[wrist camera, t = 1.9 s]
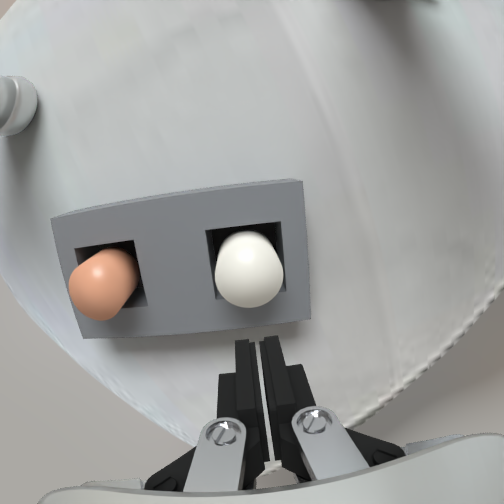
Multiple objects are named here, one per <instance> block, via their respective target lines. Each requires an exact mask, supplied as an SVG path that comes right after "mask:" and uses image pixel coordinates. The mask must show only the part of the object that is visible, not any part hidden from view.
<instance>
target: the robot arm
mask: <svg viewBox="0 0 504 504" xmlns="http://www.w3.org/2000/svg"><path fill="white" fill-rule="evenodd" d="M259 344H260V352H261V361H262V369H263V378H264V386H265V395H266V402H267V409H268V415H269V422H270V429H271V436H272V442H273V449H274V456H275V461H276V460H281V463H282V467H283V468H285V469H287V470H289V471H291V472H293V473H294V478H295V480H296V483H297V484H293V485H287V486H280V487H272V488H263V489H256V477H257V476H259V475H260V474H261V473H262V472H263V471H264V470H265V465H264V462H268V461H270V457H269V450H268V442H267V435H266V427H265V420H264V412H263V404H262V396H261V389H260V381H259V373H258V365H257V357H256V349H255V342H251V343H249V339H246V340H237V341H235V358H236V373H226V374H219V382H218V403H217V419H214V420H212V421H210V422H209V423H207V424H206V425H205V426H204V427H203V429H202V431H201V433H200V437H199V440H198V443H197V446H196V447H194V448H193V449H191V450H190V451H189V452H187V453H186V454H184V455H183V456H181V457H180V458H178V459H177V460H175V461H174V462H172V463H171V464H169V465H168V466H166V467H164V468H163V469H161V470H160V471H158V472H157V473H155V474H154V475H152V476H151V477H150V478H149V479H148V480H144V481H142V480H141V479H140V478H136V479H125V480H111V481H91V482H86V483H84V484H82V485H81V486H74V487H66V488H60V489H57V490H53V491H51V492H49V493H47V494H46V495H44V496H43V497H42V498H41V499H40V500H39V502H38V503H37V504H504V435H502V434H497V433H480V434H472V435H467V436H464V435H460V434H458V435H457V434H456V435H450V436H445V437H441V438H436V439H431V440H426V441H420V442H414V443H409V444H406V446H405V447H399V446H397V445H395V444H392V443H389V442H386V441H382V440H379V439H376V438H373V437H370V436H367V435H364V434H361V433H358V432H355V431H353V430H350V429H347V428H344V427H343V425H342V424H341V422H340V421H339V419H338V418H337V416H336V415H335V413H334V412H333V411H332V410H330V409H328V408H325V407H321V406H316V404H315V401H314V398H313V395H312V392H311V389H310V386H309V383H308V380H307V377H306V374H305V371H304V368H303V366H302V364H298V365H291V366H286V365H285V361H284V357H283V353H282V349H281V346H280V342H279V338H278V336H270V337H264V341H259Z"/></svg>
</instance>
